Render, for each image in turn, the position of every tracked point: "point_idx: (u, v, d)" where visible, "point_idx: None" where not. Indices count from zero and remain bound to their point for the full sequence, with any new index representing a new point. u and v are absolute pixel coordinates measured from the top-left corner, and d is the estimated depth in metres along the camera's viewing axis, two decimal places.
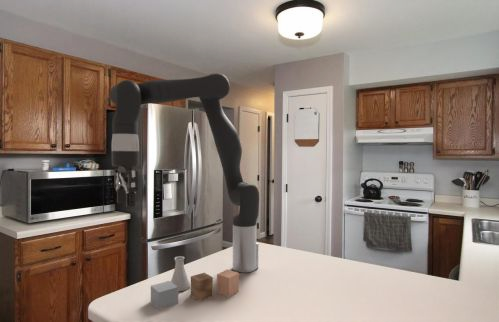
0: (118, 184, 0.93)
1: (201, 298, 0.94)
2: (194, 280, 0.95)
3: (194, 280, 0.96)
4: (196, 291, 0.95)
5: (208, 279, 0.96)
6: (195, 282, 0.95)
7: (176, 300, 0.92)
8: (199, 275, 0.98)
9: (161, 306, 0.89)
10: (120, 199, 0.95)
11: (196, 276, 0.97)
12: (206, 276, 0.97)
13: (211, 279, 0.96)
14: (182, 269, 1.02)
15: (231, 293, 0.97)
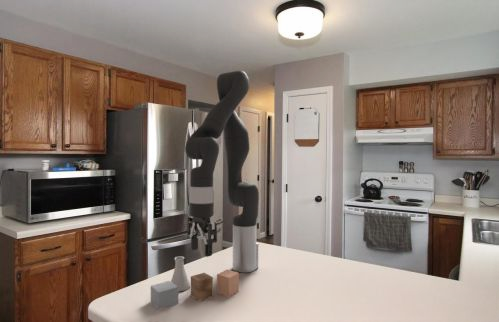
0: (193, 232, 0.98)
1: (201, 298, 0.94)
2: (194, 279, 0.95)
3: (194, 280, 0.96)
4: (196, 291, 0.95)
5: (208, 279, 0.96)
6: (195, 282, 0.95)
7: (176, 300, 0.92)
8: (199, 275, 0.98)
9: (161, 306, 0.89)
10: (194, 246, 1.00)
11: (196, 276, 0.97)
12: (206, 276, 0.97)
13: (211, 279, 0.96)
14: (182, 269, 1.02)
15: (231, 293, 0.97)
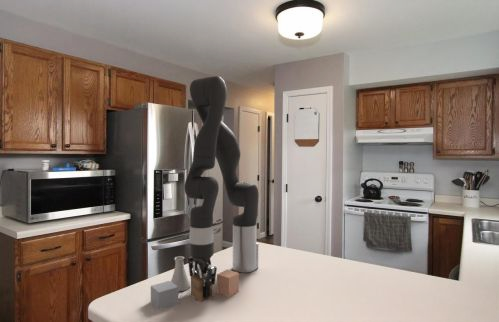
0: (195, 273, 0.98)
1: (201, 298, 0.94)
2: (194, 279, 0.95)
3: (194, 280, 0.96)
4: (196, 291, 0.95)
5: None
6: (195, 281, 0.95)
7: (176, 300, 0.92)
8: (199, 275, 0.98)
9: (161, 306, 0.89)
10: None
11: (196, 276, 0.97)
12: None
13: (211, 279, 0.96)
14: (182, 269, 1.02)
15: (231, 293, 0.97)
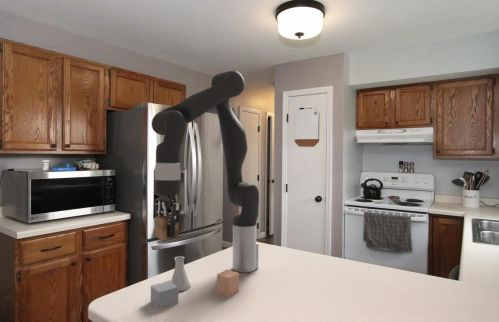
0: (160, 213, 0.93)
1: (165, 237, 0.89)
2: (159, 218, 0.91)
3: (158, 219, 0.91)
4: (160, 230, 0.90)
5: None
6: (159, 221, 0.90)
7: (176, 300, 0.92)
8: None
9: (161, 306, 0.89)
10: None
11: (161, 216, 0.92)
12: None
13: None
14: (182, 269, 1.02)
15: (231, 293, 0.97)
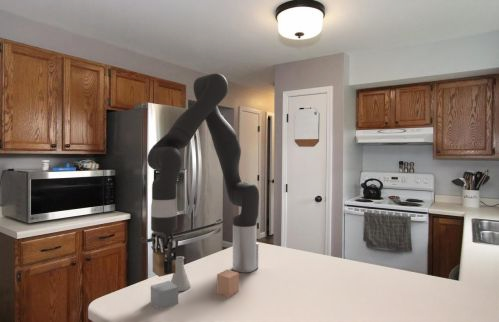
0: (157, 248, 0.93)
1: (162, 274, 0.89)
2: (155, 255, 0.91)
3: (155, 255, 0.91)
4: (157, 266, 0.90)
5: None
6: (156, 257, 0.90)
7: (176, 300, 0.92)
8: None
9: (161, 306, 0.89)
10: None
11: (158, 251, 0.93)
12: None
13: None
14: (182, 269, 1.02)
15: (231, 293, 0.97)
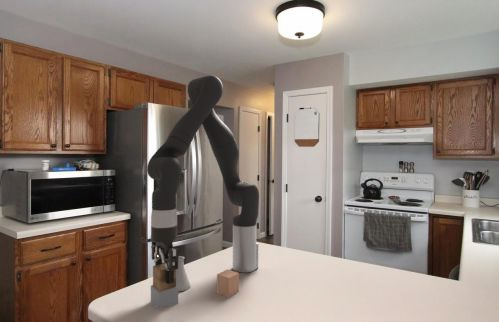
0: (157, 257, 0.94)
1: (163, 288, 0.89)
2: (156, 269, 0.91)
3: (156, 270, 0.91)
4: (157, 281, 0.90)
5: None
6: (156, 271, 0.90)
7: (176, 300, 0.92)
8: (162, 265, 0.93)
9: (161, 306, 0.89)
10: None
11: (159, 266, 0.93)
12: None
13: None
14: (182, 269, 1.02)
15: (231, 293, 0.97)
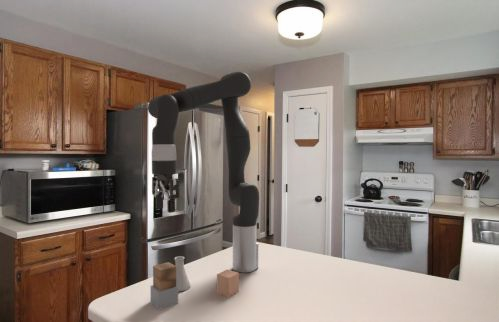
0: (157, 191, 0.99)
1: (163, 288, 0.90)
2: (156, 269, 0.91)
3: (156, 269, 0.91)
4: (158, 281, 0.90)
5: (171, 268, 0.91)
6: (157, 271, 0.91)
7: (176, 300, 0.92)
8: (162, 264, 0.94)
9: (161, 306, 0.89)
10: (158, 205, 1.01)
11: (159, 265, 0.93)
12: (169, 266, 0.92)
13: (174, 268, 0.92)
14: (182, 269, 1.02)
15: (231, 293, 0.97)
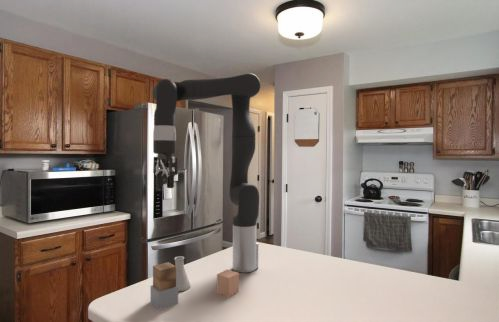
0: (158, 169, 1.07)
1: (163, 288, 0.90)
2: (156, 269, 0.91)
3: (156, 270, 0.91)
4: (157, 281, 0.90)
5: (171, 268, 0.91)
6: (157, 271, 0.91)
7: (176, 300, 0.92)
8: (162, 264, 0.94)
9: (161, 306, 0.89)
10: (159, 183, 1.09)
11: (159, 265, 0.93)
12: (169, 266, 0.92)
13: (174, 268, 0.92)
14: (182, 269, 1.02)
15: (231, 293, 0.97)
